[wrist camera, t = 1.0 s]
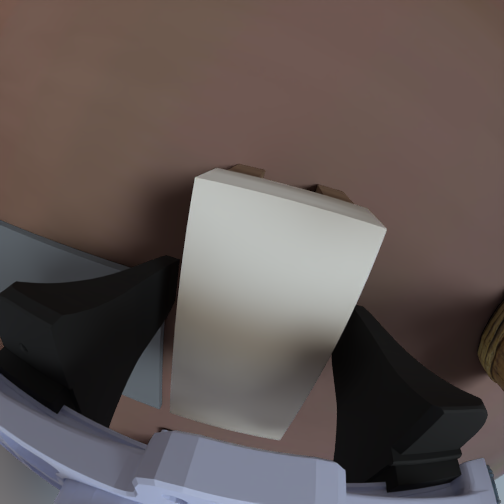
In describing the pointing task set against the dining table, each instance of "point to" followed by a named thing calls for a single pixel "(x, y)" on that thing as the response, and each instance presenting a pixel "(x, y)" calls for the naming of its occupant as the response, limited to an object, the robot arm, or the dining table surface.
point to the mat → (68, 270)
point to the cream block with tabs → (263, 296)
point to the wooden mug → (494, 347)
